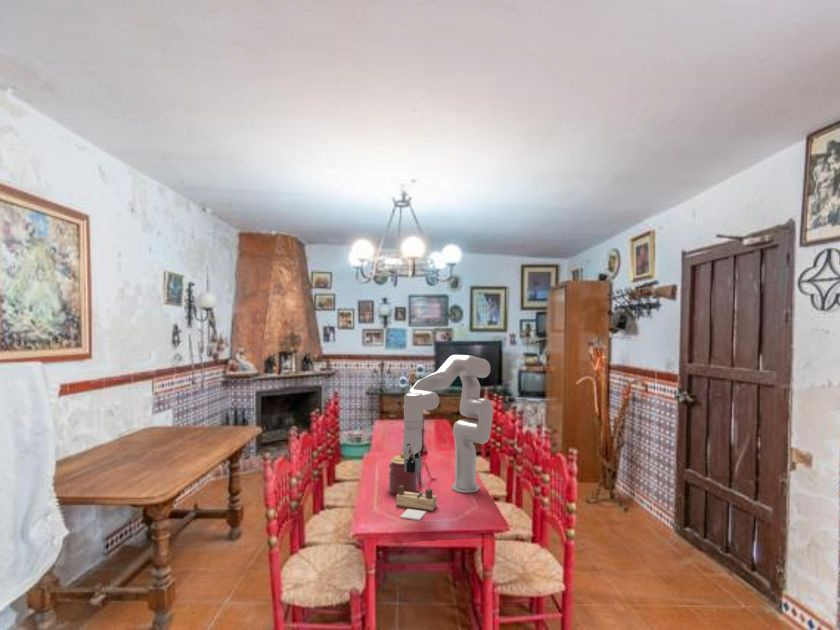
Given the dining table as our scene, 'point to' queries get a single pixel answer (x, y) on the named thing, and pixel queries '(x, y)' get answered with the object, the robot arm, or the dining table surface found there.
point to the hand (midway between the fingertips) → (413, 469)
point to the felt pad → (413, 514)
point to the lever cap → (417, 464)
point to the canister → (401, 476)
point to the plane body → (416, 499)
